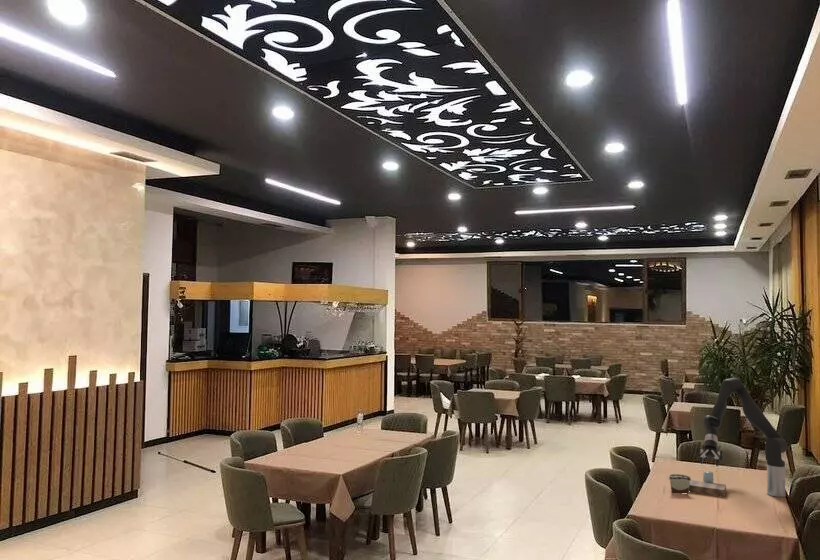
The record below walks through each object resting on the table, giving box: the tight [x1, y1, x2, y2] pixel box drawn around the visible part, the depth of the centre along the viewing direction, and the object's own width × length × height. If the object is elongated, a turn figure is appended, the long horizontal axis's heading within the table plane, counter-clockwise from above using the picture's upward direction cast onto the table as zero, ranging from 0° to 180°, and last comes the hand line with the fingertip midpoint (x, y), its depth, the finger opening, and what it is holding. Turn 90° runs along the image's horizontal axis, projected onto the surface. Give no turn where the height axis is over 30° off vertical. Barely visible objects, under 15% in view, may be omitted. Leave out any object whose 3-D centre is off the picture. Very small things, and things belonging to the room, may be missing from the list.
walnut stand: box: [689, 479, 727, 498], centre depth 380 cm, size 20×14×4 cm
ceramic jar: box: [702, 470, 714, 483], centre depth 390 cm, size 6×6×9 cm
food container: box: [668, 473, 692, 495], centre depth 376 cm, size 12×6×10 cm, turn 84°
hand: (709, 464), depth 397 cm, fingers open, 8 cm apart
